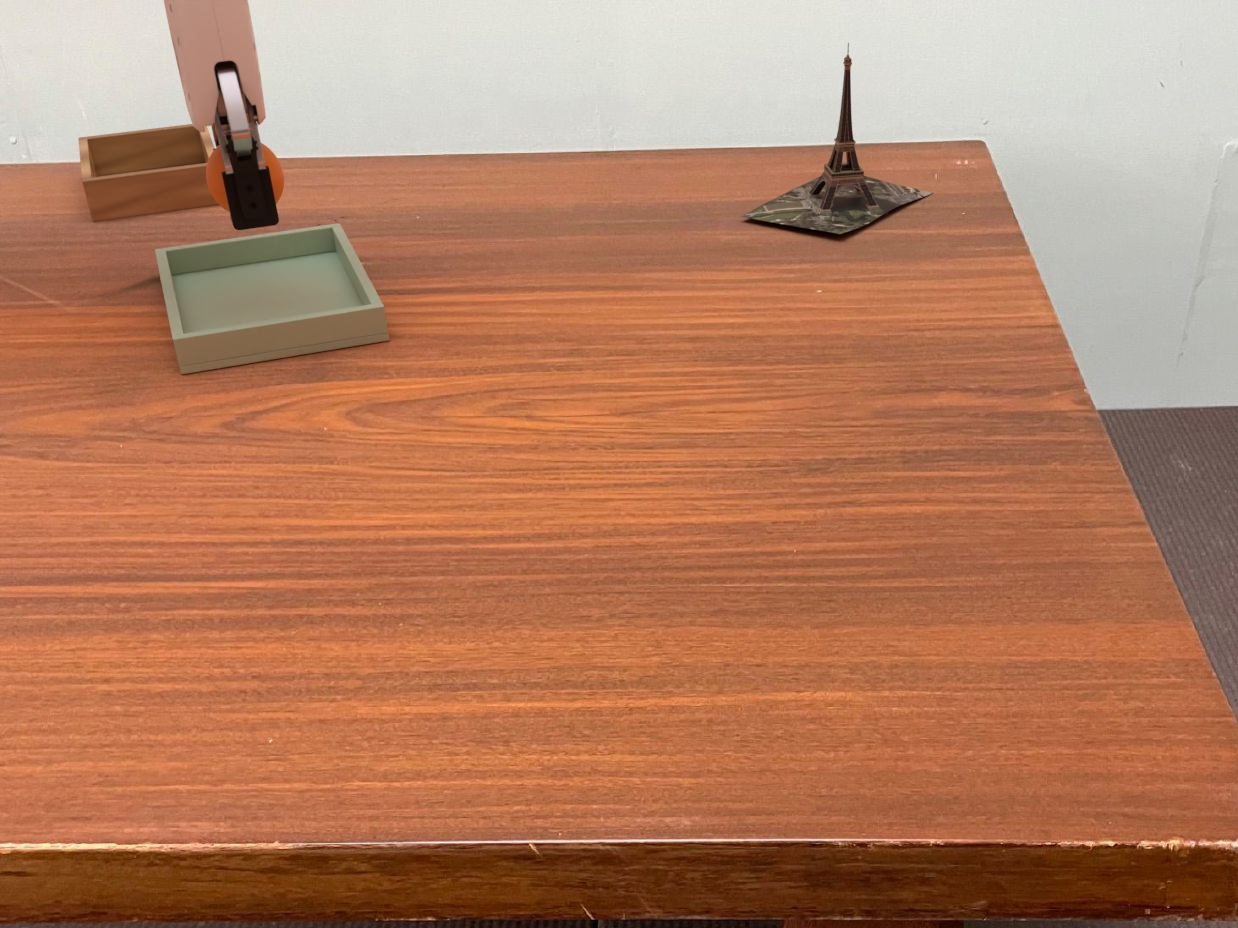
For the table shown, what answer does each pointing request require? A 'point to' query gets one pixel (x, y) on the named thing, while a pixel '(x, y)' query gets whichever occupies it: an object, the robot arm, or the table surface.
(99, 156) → the wooden box
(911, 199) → the eiffel tower figurine
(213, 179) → the orange
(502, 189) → the table surface
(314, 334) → the tray
